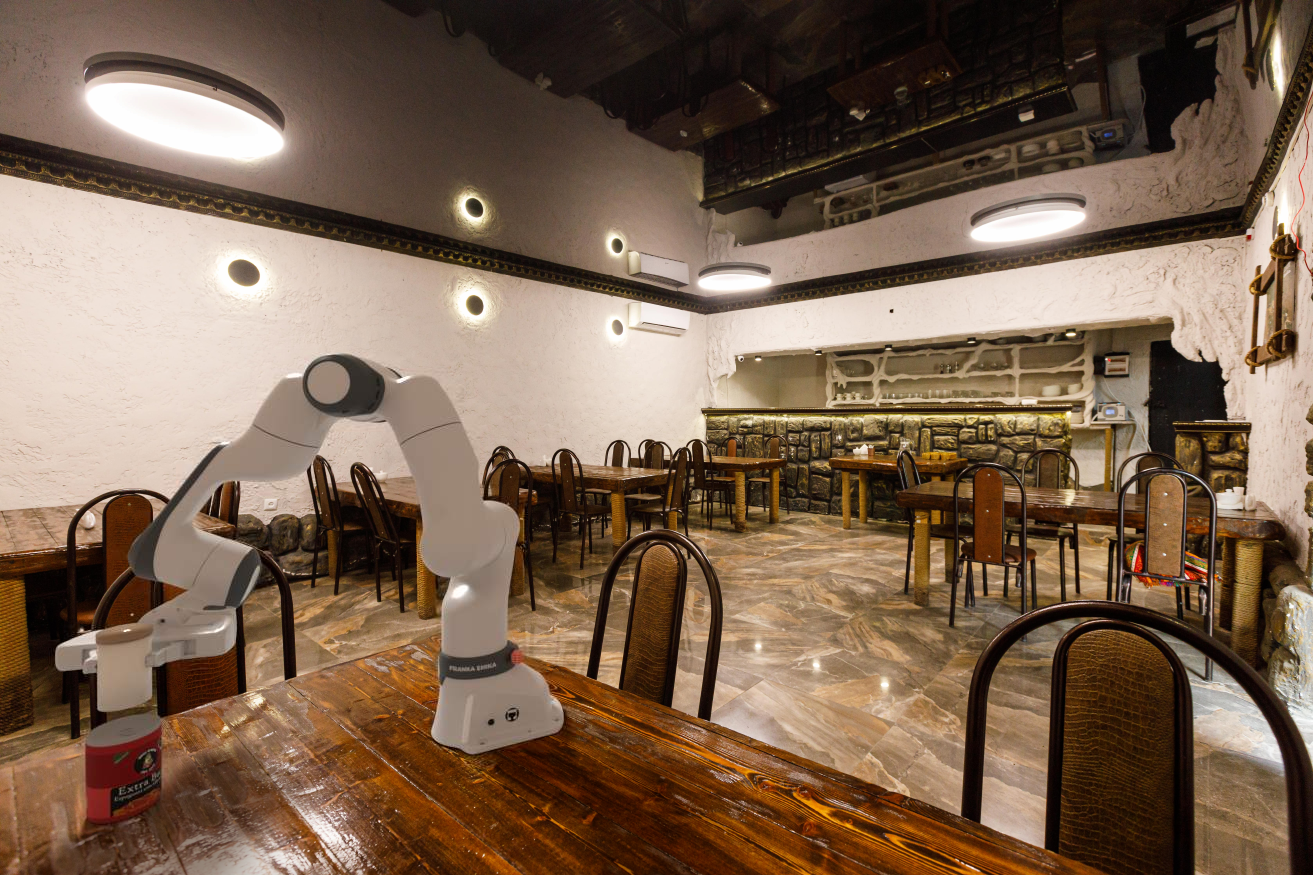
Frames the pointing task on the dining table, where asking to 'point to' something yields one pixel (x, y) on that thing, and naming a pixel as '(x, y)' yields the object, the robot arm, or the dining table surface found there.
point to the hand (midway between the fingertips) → (121, 664)
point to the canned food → (123, 767)
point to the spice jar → (123, 666)
